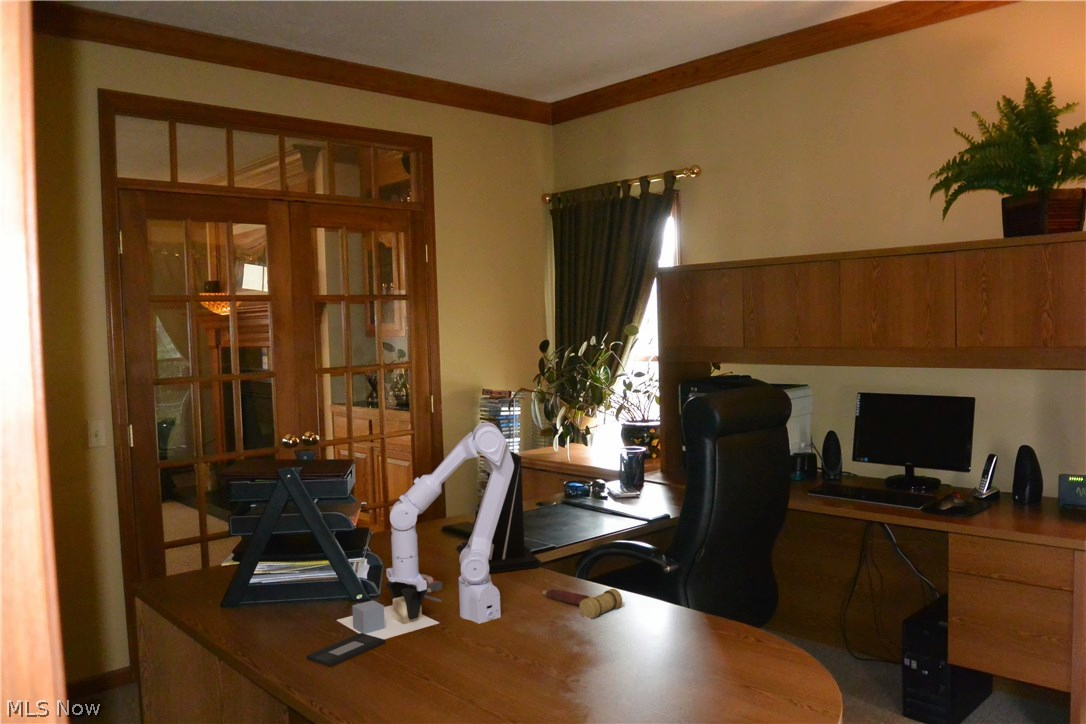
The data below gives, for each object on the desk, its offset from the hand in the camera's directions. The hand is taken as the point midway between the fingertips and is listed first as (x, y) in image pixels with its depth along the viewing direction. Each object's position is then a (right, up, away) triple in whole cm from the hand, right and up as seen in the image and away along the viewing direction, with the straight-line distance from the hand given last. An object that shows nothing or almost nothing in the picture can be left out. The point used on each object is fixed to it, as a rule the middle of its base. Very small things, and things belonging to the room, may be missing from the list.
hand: (407, 615), depth 186 cm
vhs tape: (-9, -4, -17) cm, 20 cm away
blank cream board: (-4, -2, -1) cm, 5 cm away
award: (+17, 0, +52) cm, 55 cm away
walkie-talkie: (+1, -2, +21) cm, 21 cm away
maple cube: (0, -1, 0) cm, 1 cm away
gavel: (+38, -1, +9) cm, 39 cm away
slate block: (-8, -1, -5) cm, 9 cm away
